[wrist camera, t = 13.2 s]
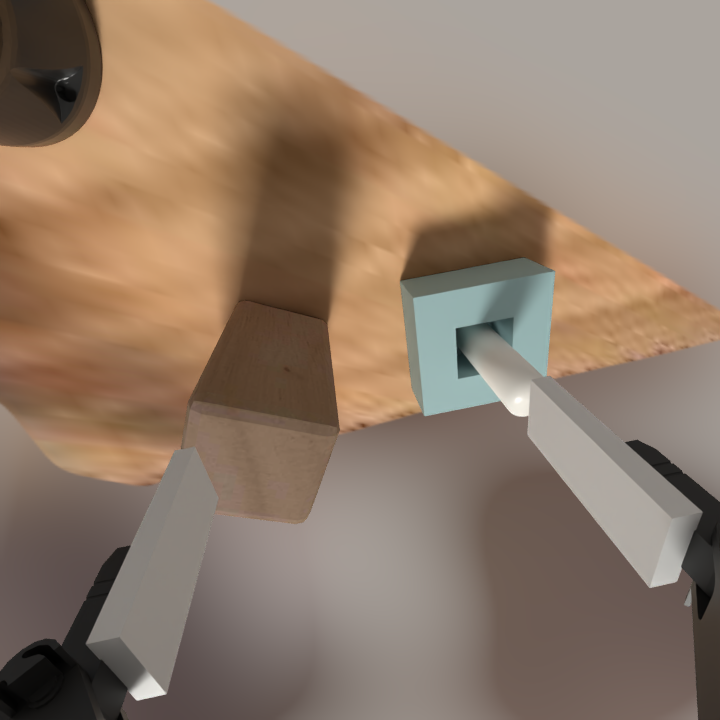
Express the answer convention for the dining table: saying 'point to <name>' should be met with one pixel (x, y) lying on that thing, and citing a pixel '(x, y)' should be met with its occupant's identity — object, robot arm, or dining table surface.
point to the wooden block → (265, 414)
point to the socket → (470, 307)
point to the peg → (498, 365)
